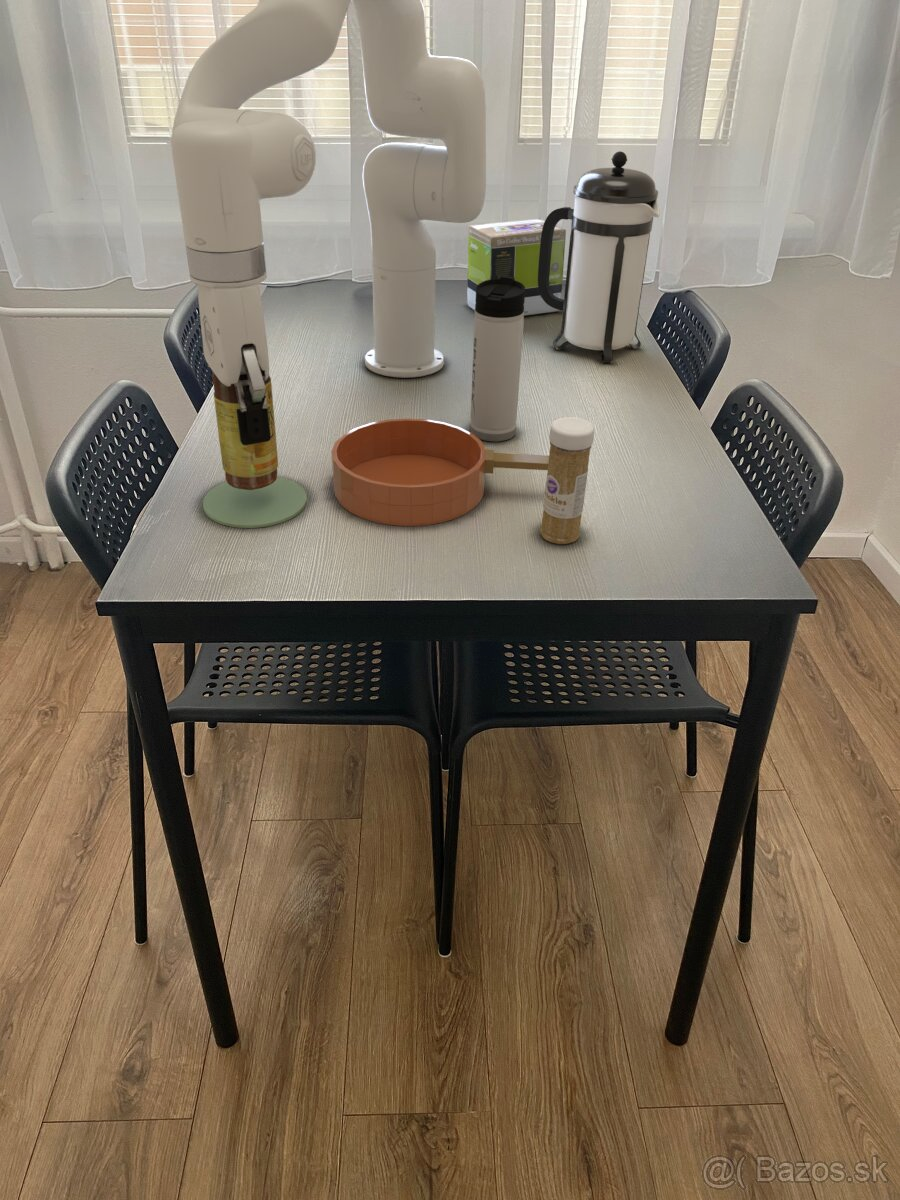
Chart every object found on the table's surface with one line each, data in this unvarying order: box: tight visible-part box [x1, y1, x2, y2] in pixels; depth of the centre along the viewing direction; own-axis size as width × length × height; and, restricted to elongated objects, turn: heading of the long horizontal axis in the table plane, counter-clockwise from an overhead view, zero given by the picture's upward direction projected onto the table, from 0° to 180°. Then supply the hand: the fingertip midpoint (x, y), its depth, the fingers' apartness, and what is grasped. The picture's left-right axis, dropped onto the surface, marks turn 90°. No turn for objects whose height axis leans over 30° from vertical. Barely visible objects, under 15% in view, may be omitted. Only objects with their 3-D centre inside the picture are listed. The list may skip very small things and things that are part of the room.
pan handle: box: [484, 448, 549, 475], centre depth 104 cm, size 11×3×2 cm, turn 86°
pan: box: [331, 418, 486, 527], centre depth 106 cm, size 18×18×5 cm
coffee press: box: [538, 151, 661, 364], centre depth 140 cm, size 17×16×30 cm
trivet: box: [202, 476, 308, 529], centre depth 103 cm, size 12×12×1 cm
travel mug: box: [469, 276, 525, 443], centre depth 115 cm, size 6×7×20 cm
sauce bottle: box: [212, 365, 279, 490], centre depth 96 cm, size 6×6×20 cm
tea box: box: [466, 218, 567, 317], centre depth 160 cm, size 15×10×15 cm
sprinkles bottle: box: [539, 416, 595, 545], centre depth 95 cm, size 5×5×13 cm
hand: (246, 428), depth 98 cm, fingers closed on sauce bottle, 6 cm apart
